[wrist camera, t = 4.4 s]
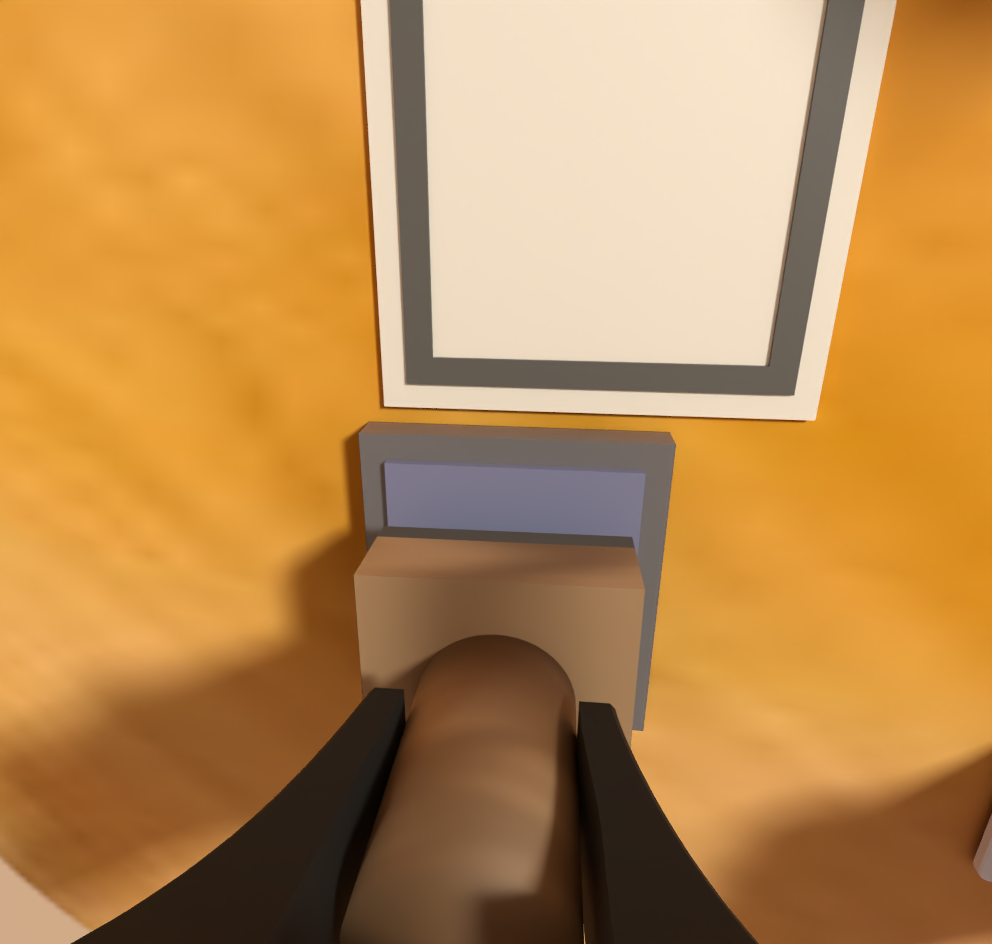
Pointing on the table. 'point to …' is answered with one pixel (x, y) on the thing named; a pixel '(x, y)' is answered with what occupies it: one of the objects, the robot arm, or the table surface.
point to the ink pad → (527, 491)
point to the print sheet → (616, 199)
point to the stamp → (488, 726)
